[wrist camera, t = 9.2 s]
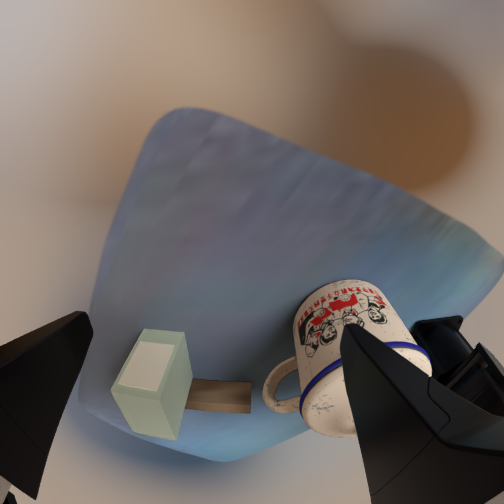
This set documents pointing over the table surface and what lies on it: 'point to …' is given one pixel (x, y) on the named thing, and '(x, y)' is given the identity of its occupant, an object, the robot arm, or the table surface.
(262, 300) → the table surface
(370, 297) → the teacup with lid
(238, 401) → the wooden block
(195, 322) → the table surface
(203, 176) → the table surface
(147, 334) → the sage tin
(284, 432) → the table surface
